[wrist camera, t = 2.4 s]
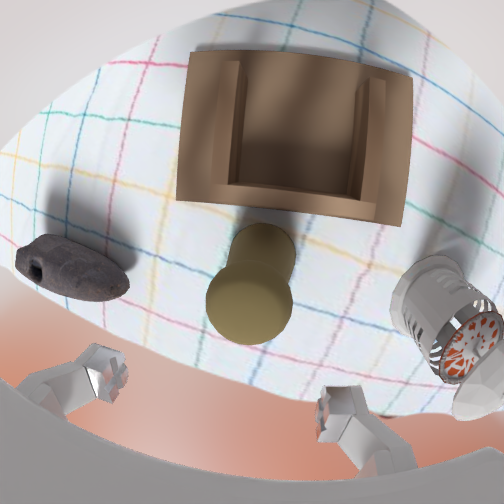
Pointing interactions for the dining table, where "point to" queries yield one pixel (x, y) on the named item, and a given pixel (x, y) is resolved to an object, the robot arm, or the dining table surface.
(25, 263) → the perforated stone tool
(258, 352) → the dining table surface
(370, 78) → the u rest
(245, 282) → the cork
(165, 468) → the robot arm
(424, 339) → the french press
